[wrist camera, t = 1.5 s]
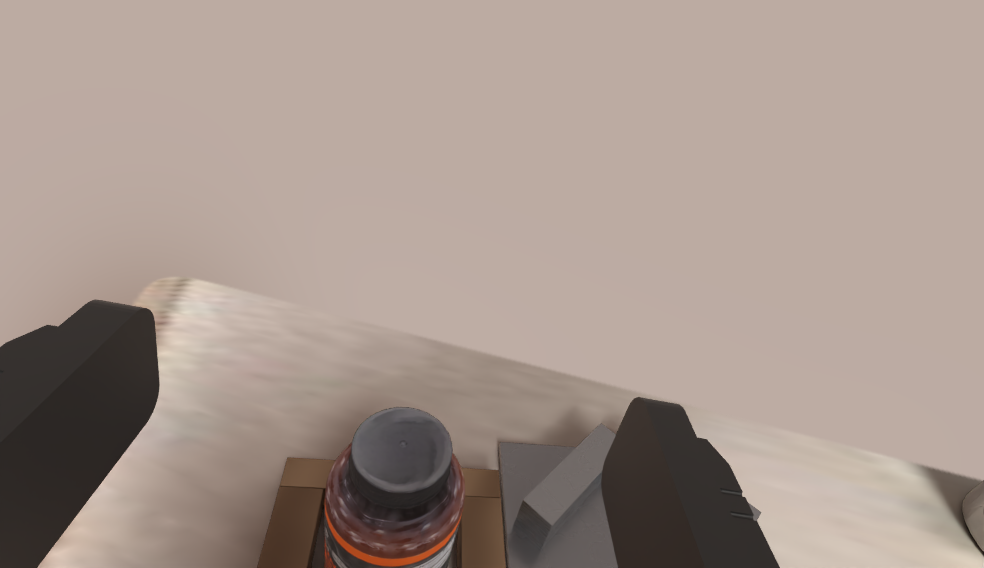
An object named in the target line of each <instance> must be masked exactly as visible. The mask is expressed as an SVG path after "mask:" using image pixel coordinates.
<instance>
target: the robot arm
mask: <svg viewBox="0 0 984 568" xmlns="http://www.w3.org/2000/svg"><path fill="white" fill-rule="evenodd" d="M158 394H159V371H158V358H157V345H156V332H155V321H154V316H153V314H152V312H151V311H150V310H149V309H147V308H142V307H136V306H130V305H125V304H119V303H113V302H107V301H102V300H92V301H90V302H88V303H87V304H85V305H84V306H83V307H82V308H80V309H79V310H78V311H77V312H76V313H74V314H73V315H72V316H71V317H70V318H68V319H67V320H66V321H65V322H64V323H62V324H61V325H60V326H59V327H57V326H51V325H46V326H44V327H41V328H39V329H37V330H34V331H32V332H30V333H27V334H25V335H23V336H21V337H18V338H16V339H13V340H11V341H9V342H7V343H5V344H4V345H3V346H1V347H0V568H37V567H38V566H39V564H40V563H41V562H42V560H43V559H44V558H45V556H46V555H47V554H48V552H49V551H50V550H51V548H52V547H53V546H54V545H55V543H56V542H57V541H58V539H59V538H60V537H61V535H62V534H63V533H64V531H65V530H66V529H67V527H68V526H69V525H70V523H71V522H72V521H73V519H74V518H75V517H76V516H77V514H78V513H79V512H80V510H81V509H82V508H83V506H84V505H85V504H86V502H87V501H88V500H89V498H90V497H91V496H92V494H93V493H94V492H95V490H96V489H97V488H98V487H99V485H100V484H101V483H102V481H103V480H104V479H105V477H106V476H107V475H108V473H109V472H110V471H111V469H112V468H113V467H114V465H115V464H116V463H117V461H118V460H119V459H120V458H121V456H122V455H123V454H124V452H125V451H126V450H127V448H128V447H129V446H130V444H131V443H132V442H133V440H134V439H135V438H136V436H137V435H138V434H139V432H140V431H141V430H142V429H143V427H144V426H145V425H146V423H147V422H148V420H149V418H150V417H151V415H152V413H153V410H154V408H155V405H156V402H157V398H158ZM601 489H602V497H603V501H604V506H605V511H606V515H607V520H608V524H609V529H610V533H611V538H612V543H613V547H614V552H615V556H616V561H617V565H618V568H780V567H779V565H778V563H777V561H776V559H775V557H774V555H773V553H772V551H771V549H770V547H769V545H768V543H767V541H766V539H765V537H764V535H763V532H762V530H761V528H760V526H759V524H758V522H757V521H754V519H753V516H754V514H753V512H752V510H751V508H750V506H749V504H748V502H747V500H746V498H745V497H742V490H741V488H740V486H739V484H738V482H737V479H736V477H735V475H734V473H733V471H732V469H731V467H730V465H729V464H728V463H727V462H726V460H725V459H724V458H723V457H722V456H721V455H720V454H719V453H718V452H717V450H716V449H715V448H714V447H713V446H712V445H711V444H710V443H709V442H708V440H707V439H702V438H697V437H696V434H695V432H694V430H693V428H692V425H691V423H690V421H689V419H688V416H687V414H686V412H685V410H684V408H683V407H682V406H681V405H679V404H674V403H668V402H663V401H657V400H652V399H646V398H640V397H637V398H635V399H634V400H633V401H632V402H631V403H630V405H629V407H628V409H627V411H626V414H625V416H624V418H623V420H622V423H621V425H620V427H619V429H618V431H617V434H616V436H615V438H614V440H613V443H612V445H611V447H610V449H609V451H608V454H607V456H606V458H605V461H604V465H603V470H602V478H601ZM962 511H963V515H964V519H965V522H966V524H967V527H968V529H969V531H970V533H971V535H972V536H973V538H974V539H975V541H976V542H977V544H978V545H979V547H980V548H981V549H982V550H983V552H984V481H982V482H981V483H980V484H979V485H978V486H976V487H975V488H974V489H973V490H972V491H970V492H969V493H968V494H967V495H966V497H965V498H964V500H963V506H962Z"/></svg>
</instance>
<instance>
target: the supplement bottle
mask: <svg viewBox="0 0 984 568" xmlns="http://www.w3.org/2000/svg"><path fill="white" fill-rule="evenodd" d="M464 501H465V480H464V475H463V472H462V469H461V466H460V464H459V462H458V460H457V458H456V457H455V455H454V454H453V453H452V442H451V439H450V435H449V433H448V432H447V430H446V428H445V427H444V426H443V424H442V423H441V422H440V421H439V420H438V419H436V418H435V417H433V416H432V415H430V414H428V413H427V412H424V411H421V410H418V409H414V408H409V407H395V408H389V409H386V410H382V411H380V412H377V413H375V414H374V415H372V416H370V417H369V418H367V419H366V420H365V421H364V422H363V423H362V424H361V425H360V426H359V428H358V429H357V431H356V433H355V435H354V437H353V441H352V443H350V444H349V445H348V446H347V447H346V448H345V449H344V450H343V451H342V452H341V454H340V455H339V456H338V458H337V459H336V461H335V463H334V464H333V466H332V468H331V470H330V473H329V476H328V479H327V483H326V490H325V506H324V512H325V513H324V519H325V525H324V532H325V535H324V540H325V548H324V568H447V566H448V563H449V559H450V555H451V552H452V548H453V545H454V541H455V537H456V534H457V530H458V527H459V524H460V519H461V515H462V511H463V507H464Z"/></svg>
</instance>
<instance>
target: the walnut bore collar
mask: <svg viewBox="0 0 984 568" xmlns="http://www.w3.org/2000/svg"><path fill="white" fill-rule="evenodd" d="M335 461H336V460H320V459H304V458H287V461H286V465H285V469H284V472H283V476H282V479H281V483H280V487H279V490H278V494H277V497H276V501H275V505H274V508H273V512H272V515H271V519H270V523H269V526H268V530H267V533H266V537H265V541H264V544H263V548H262V551H261V555H260V559H259V562H258V566H257V568H311V565H312V560H313V555H314V550H315V545H316V540H317V535H318V530H319V525H320V520H321V515H322V510H323V506H325V490H326V483H327V479H328V476H329V473H330V470H331V468H332V466H333V464H334V463H335ZM461 469H462V472H463V475H464V480H465V501H464V507H463V511H462V515H461V519H460V524H459V527H458V530H457V568H506V564H505V550H504V536H503V522H502V508H501V494H500V481H499V470H485V469H469V468H461Z"/></svg>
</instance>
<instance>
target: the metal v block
mask: <svg viewBox="0 0 984 568" xmlns="http://www.w3.org/2000/svg"><path fill="white" fill-rule="evenodd" d="M615 436H616V434H615V433H613V432H612V431H611V430H609V429H608V428H607V427H605V426H604V425H603V424H602V423H601V424H600V425H599V426H598V427H597V428H596V429H595V430H594V431H592V432H591V433H590V434H589V435H588V436H587V437H586V438H585V439H584V440H583V441H582V442H581V443H580V444H579V445H578V446H577V447H565V446H550V445H535V444H521V443H506V442H500V444H499V447H498V450H499V464H500V477H501V490H502V504H503V517H504V531H505V544H506V558H507V568H618V565H617V561H616V556H615V552H614V547H613V543H612V538H611V533H610V529H609V524H608V520H607V515H606V511H605V506H604V501H603V497H602V489H601V478H602V470H603V465H604V461H605V458H606V456H607V454H608V451H609V449H610V447H611V445H612V443H613V440H614V438H615ZM748 504H749V503H748ZM749 506H750V508H751V510H752V512H753V514H754V516H753V519H754V521H757V519H758V518H759V516H760V514H761V512H760V511H759V510H757V509H756V508H755V507H753V506H752V505H751V504H749Z"/></svg>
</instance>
